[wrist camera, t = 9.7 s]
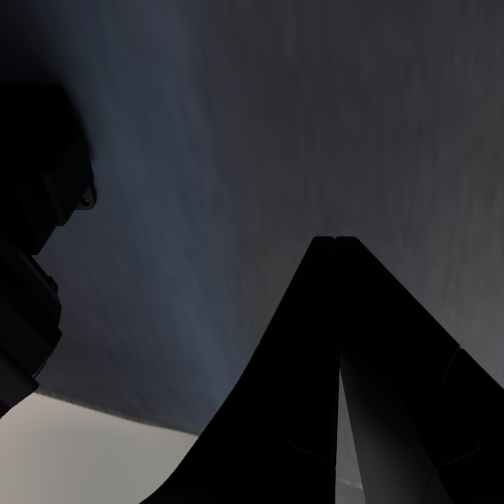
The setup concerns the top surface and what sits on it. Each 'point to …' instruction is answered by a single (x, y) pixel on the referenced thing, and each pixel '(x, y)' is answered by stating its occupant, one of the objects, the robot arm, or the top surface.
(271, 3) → the top surface
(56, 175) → the robot arm
